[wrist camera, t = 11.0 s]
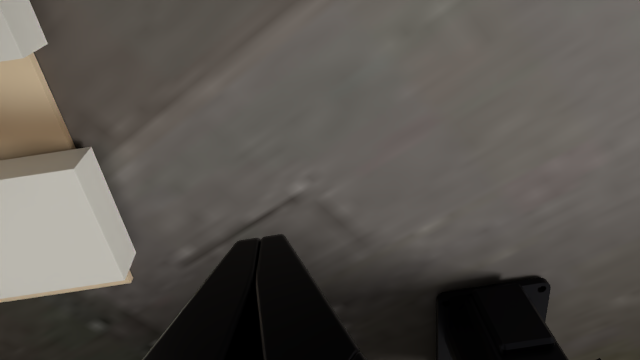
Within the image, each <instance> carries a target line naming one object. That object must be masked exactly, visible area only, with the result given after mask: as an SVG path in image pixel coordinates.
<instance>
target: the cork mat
mask: <svg viewBox="0 0 640 360" xmlns="http://www.w3.org/2000/svg"><path fill="white" fill-rule="evenodd" d="M73 149H76V148H75V145H74V143H73V141H72V139H71V136H70V134H69V132H68V130H67V127H66V125H65V123H64V121H63V118H62V116H61V114H60V112H59V109H58V107H57V105H56V103H55V100H54V98H53V96H52V93H51V91H50V89H49V87H48V84H47V82H46V80H45V78H44V75H43V73H42V71H41V69H40V66H39V64H38V62H37V60H36V57H35V55H34V53H32V54H30V55H28V56H26V57H25V58H22V59H15V60H9V61H2V62H0V160H6V159H13V158H20V157H26V156H33V155H40V154H46V153H53V152H59V151H66V150H73ZM132 279H133V277H132V274H131V272H130V270H129V271H128V274H127V276H126V279H125V280H123V281H117V282H110V283H103V284H97V285H90V286H83V287H77V288H70V289H63V290H57V291H50V292H43V293H37V294H30V295H23V296H17V297H10V298H3V299H0V302H7V301H14V300H20V299H27V298H34V297H41V296H47V295H54V294H61V293H67V292H74V291H81V290H87V289H94V288H101V287H107V286H114V285H121V284H127V283H131V282H132Z"/></svg>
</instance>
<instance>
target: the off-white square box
mask: <svg viewBox="0 0 640 360" xmlns="http://www.w3.org/2000/svg"><path fill="white" fill-rule="evenodd" d="M135 254H136V252H135V249H134V247H133V244H132V242H131V240H130V237H129V235H128V233H127V230H126V228H125V226H124V223H123V221H122V218H121V216H120V214H119V211H118V209H117V207H116V204H115V202H114V200H113V197H112V195H111V192H110V190H109V188H108V185H107V183H106V181H105V178H104V176H103V174H102V171H101V169H100V166H99V164H98V162H97V159H96V157H95V155H94V152H93V150H92V148H91V147H86V148H79V149H73V150H66V151H59V152H53V153H46V154H40V155H33V156H26V157H20V158H13V159H6V160H0V299H3V298H10V297H17V296H23V295H30V294H37V293H43V292H50V291H57V290H63V289H70V288H77V287H83V286H90V285H97V284H103V283H110V282H117V281H123V280H125V279H126V276H127V274H128V271H129V269H130V267H131V264H132V262H133V259H134V257H135Z"/></svg>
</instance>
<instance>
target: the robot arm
mask: <svg viewBox="0 0 640 360" xmlns="http://www.w3.org/2000/svg"><path fill="white" fill-rule="evenodd" d="M549 294H550V285H549V283H548V282H547V280H546V279H544V278H536V279H530V280H523V281H516V282H509V283H503V284H496V285H489V286H483V287H476V288H469V289H463V290H456V291H449V292H444V293H441V294H439V295H438V296H437V298H436V360H568V358H567V357H566V355H565V354H564V352H563V350H562V349H561V347H560V346H559V344H558V343H557V341H556V339H555V338H554V336H553V334H552V333H551V331H550V330H549V328H548V327H547V325H546V323H545V319H546V313H547V307H548V300H549ZM446 300H447V301H446ZM444 301H445V302H444ZM142 360H366V358H365V357H364V355H363V354H362V353H360V350H359V348H358V347H357V345H356V344H355V342H354V341H353V339H352V338H351V336H350V335H349V333H348V332H347V330H346V328H345V327H344V325H343V324H342V322H341V321H340V319H339V318H338V316H337V315H336V313H335V312H334V310H333V309H332V307H331V306H330V304H329V303H328V301H327V300H326V298H325V296H324V295H323V293H322V292H321V290H320V289H319V287H318V286H317V284H316V283H315V281H314V280H313V278H312V277H311V275H310V274H309V272H308V271H307V269H306V268H305V266H304V264H303V263H302V261H301V260H300V258H299V257H298V255H297V254H296V252H295V251H294V249H293V248H292V246H291V245H290V243H289V242H288V240H287V239H286V237H285V236H284V235H282V234H279V235H272V236H266V237H263V238H262V239H261V240H260V239H259V238H252V239H245V240H240V241H237V242H236V243H235V244H234V246H233V247H232V248H231V249H230V251H229V252H228V253H227V254H226V256H225V257H224V258H223V259H222V261H221V262H220V263H219V264H218V266H217V267H216V268H215V269H214V271H213V272H212V273H211V274H210V276H209V277H208V278H207V279H206V281H205V282H204V283H203V284H202V286H201V287H200V288H199V289H198V291H197V292H196V293H195V294H194V296H193V297H192V298H191V299H190V301H189V302H188V303H187V304H186V306H185V307H184V308H183V309H182V311H181V312H180V313H179V314H178V316H177V317H176V318H175V319H174V321H173V322H172V323H171V324H170V326H169V327H168V328H167V329H166V331H165V332H164V333H163V334H162V336H161V337H160V338H159V339H158V341H157V342H156V343H155V344H154V346H153V347H152V348H151V349H150V351H149V352H148V353H147V354H146V356H145V357H144V358H143V359H142ZM597 360H601V359H600V358H599V359H597Z"/></svg>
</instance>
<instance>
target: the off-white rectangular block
mask: <svg viewBox="0 0 640 360" xmlns="http://www.w3.org/2000/svg"><path fill="white" fill-rule="evenodd" d="M47 44H48V43H47V41H46V39H45V36H44V34H43V32H42V29H41V27H40V24H39V22H38V20H37V17H36V15H35V13H34V10H33V8H32V6H31V3H30V1H29V0H0V62H2V61H9V60H15V59H22V58H25V57H26V56H28V55H30V54H32V53H33V52H35V51H37V50H38V49H40V48H42V47H43V46H45V45H47Z"/></svg>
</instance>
